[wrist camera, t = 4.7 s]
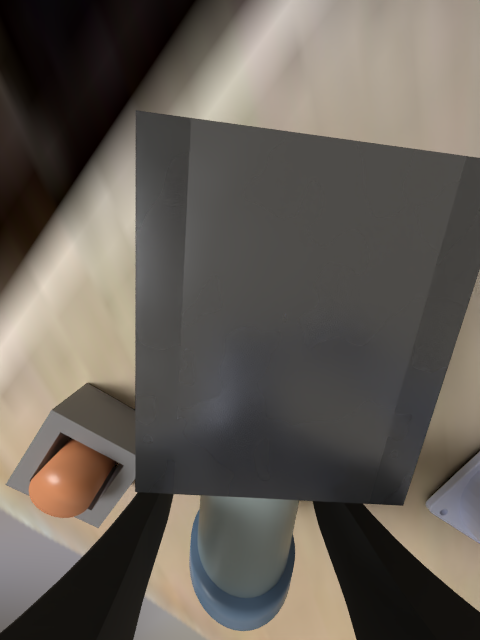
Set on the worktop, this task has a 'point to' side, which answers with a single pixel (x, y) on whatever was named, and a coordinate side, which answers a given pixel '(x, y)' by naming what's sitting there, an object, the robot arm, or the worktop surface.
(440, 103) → the worktop surface
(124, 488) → the block
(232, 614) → the cylinder
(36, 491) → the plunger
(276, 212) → the block
